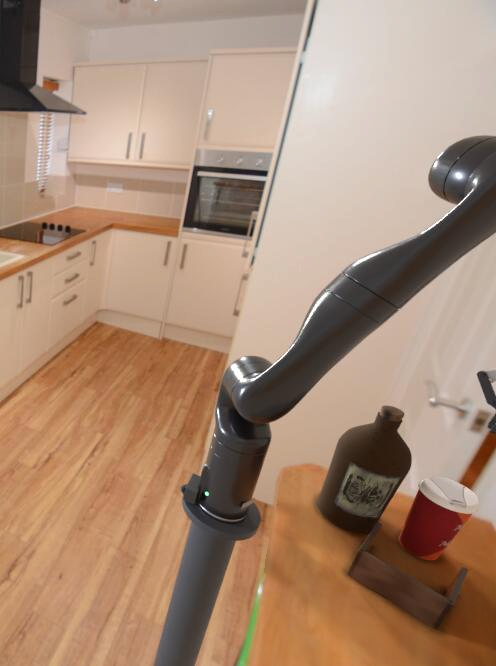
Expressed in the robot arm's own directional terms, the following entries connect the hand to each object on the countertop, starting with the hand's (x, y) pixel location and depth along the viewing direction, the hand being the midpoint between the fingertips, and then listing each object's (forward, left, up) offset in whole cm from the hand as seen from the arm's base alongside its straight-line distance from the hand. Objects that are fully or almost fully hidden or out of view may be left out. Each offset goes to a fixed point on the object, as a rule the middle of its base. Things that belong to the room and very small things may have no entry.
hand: (495, 434), depth 79 cm
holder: (-7, -21, -22) cm, 31 cm away
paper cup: (-4, -10, -22) cm, 24 cm away
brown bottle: (-15, -9, -22) cm, 28 cm away
